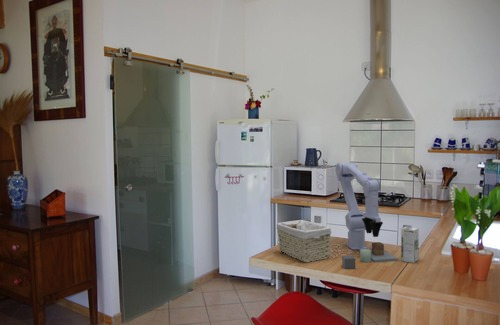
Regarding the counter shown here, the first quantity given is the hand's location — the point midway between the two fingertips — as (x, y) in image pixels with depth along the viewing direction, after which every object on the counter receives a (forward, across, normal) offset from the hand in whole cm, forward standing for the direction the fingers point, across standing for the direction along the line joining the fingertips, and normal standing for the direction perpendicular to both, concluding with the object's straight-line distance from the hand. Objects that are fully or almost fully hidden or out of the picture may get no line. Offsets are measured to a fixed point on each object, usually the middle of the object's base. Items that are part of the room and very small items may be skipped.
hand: (372, 234), depth 184 cm
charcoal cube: (+10, +16, -17) cm, 25 cm away
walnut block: (+8, +3, +1) cm, 9 cm away
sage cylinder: (+10, +9, -7) cm, 15 cm away
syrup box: (+10, +12, +12) cm, 19 cm away
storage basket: (+10, -6, -31) cm, 33 cm away
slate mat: (+9, +2, +2) cm, 10 cm away
